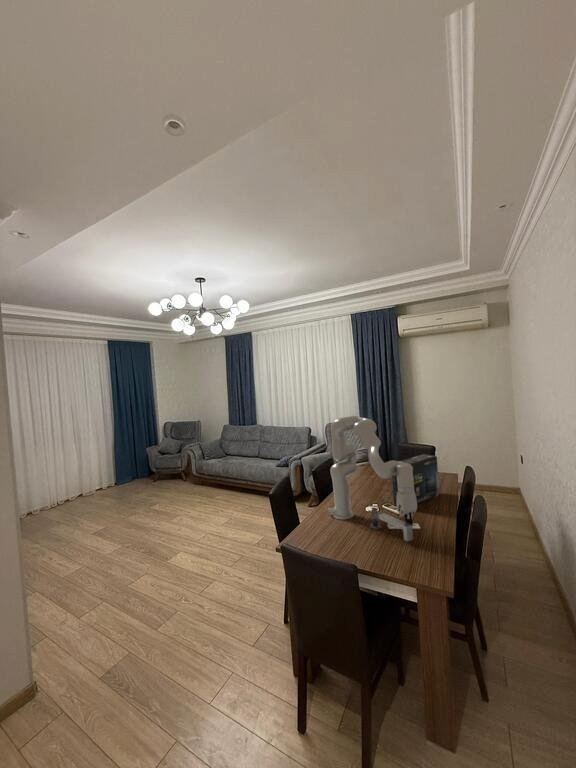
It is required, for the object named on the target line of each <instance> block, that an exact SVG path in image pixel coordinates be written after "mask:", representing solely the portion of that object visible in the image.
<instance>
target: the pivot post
mask: <svg viewBox="0 0 576 768" xmlns="http://www.w3.org/2000/svg"><path fill="white" fill-rule="evenodd" d="M376 512H378V508H377V507H375V506H373V507H371V519H372V522H371V523H370V524H369V528H370V529H372V530H380V529H382V524H381V523H379V519H377V518H375V513H376Z"/></svg>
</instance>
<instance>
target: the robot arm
mask: <svg viewBox="0 0 576 768" xmlns="http://www.w3.org/2000/svg"><path fill="white" fill-rule="evenodd" d="M377 429H378V427H377V424H376V423H375V421H374V420H372V419H370V418H366V417H363V416H357V415H350V416H344V417H343V416H342V417H339V418H336V419H334V421H332V423H331V424H330V435H331V454H332V458H333V460H334V461H336V463H334V464H333V465H331V467H330V470H329V471H330V472H329V473H330V476H331V479H332V480H331V481H332V488H333V489H332V491H333V502H334V507H327V512H328V513H330V514H332V516H333V518H334V519H337V520H343V521H345V520H350V519H352V518H353V517H354V516H355V512H354V511H352V507H351V506H352V505H351V494H350V493H351V491H350V484H349V482H348V480H347V478H348V477H351V476H353V475H355V474H356V471H357V451H356V448H355V445H353V443H351V442H347V437H346V435H345V433H347V432H352V431H354V433H355V434H356V435H357V438H358V439H359V440H360V441H361V443H362V444H363V446H364V447H365V449H366V450H367V456H368V457H367V458H368V461H369V464H370V466H371V468H372V469H373V470H374V472H375V474H377V475H378V477H379V478H380V479H383V480H388V479H392V477H393V476H396V475H397V483H398V492H397V501H396V502H397V506H396V512H398V513H399V514H398V515H399V517H403V518H404V522H407V523H409V524H411V525H412V526H413V524H414V523H413V518H414V513H416V512H417V510H418V505H417V499H416V494H415V491H414V483H413V471H412V466H411V465H410V464H408V463H400V462H398V461H399V460H388V461H386V462H384V461H383V459H382V457H381V456H380V453H379V448H380V446H381V444H382V442H381V440H380V439H379V437H378V436H377V435H376V433H375V432H376V431H377Z"/></svg>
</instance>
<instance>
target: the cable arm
mask: <svg viewBox="0 0 576 768" xmlns="http://www.w3.org/2000/svg"><path fill="white" fill-rule="evenodd" d="M375 518H377V519H378V520H381V521H382V522H385V523H387V524H391V525H394V526H396V527H398V528H400V529H399V530H402V532H403V541H405V542H407V543H408V542H410V541H412V540H413V539H414V536H413V534H414V533H413V529H412V525H411V524H409V523H407V522H405V520H401V519H399V518H397V517H395V516H392V515H391V514H387V513H385V512H383V511H382V510H379V511H377V512H376V513H375Z"/></svg>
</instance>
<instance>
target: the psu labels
mask: <svg viewBox="0 0 576 768" xmlns="http://www.w3.org/2000/svg"><path fill="white" fill-rule="evenodd" d="M387 528H388V529H389V530H401V529H400V528H398V527H396V526H394V525H391V524H389V523H387ZM412 530H421V526H420V525H419V524H418V523H413V526H412Z"/></svg>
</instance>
